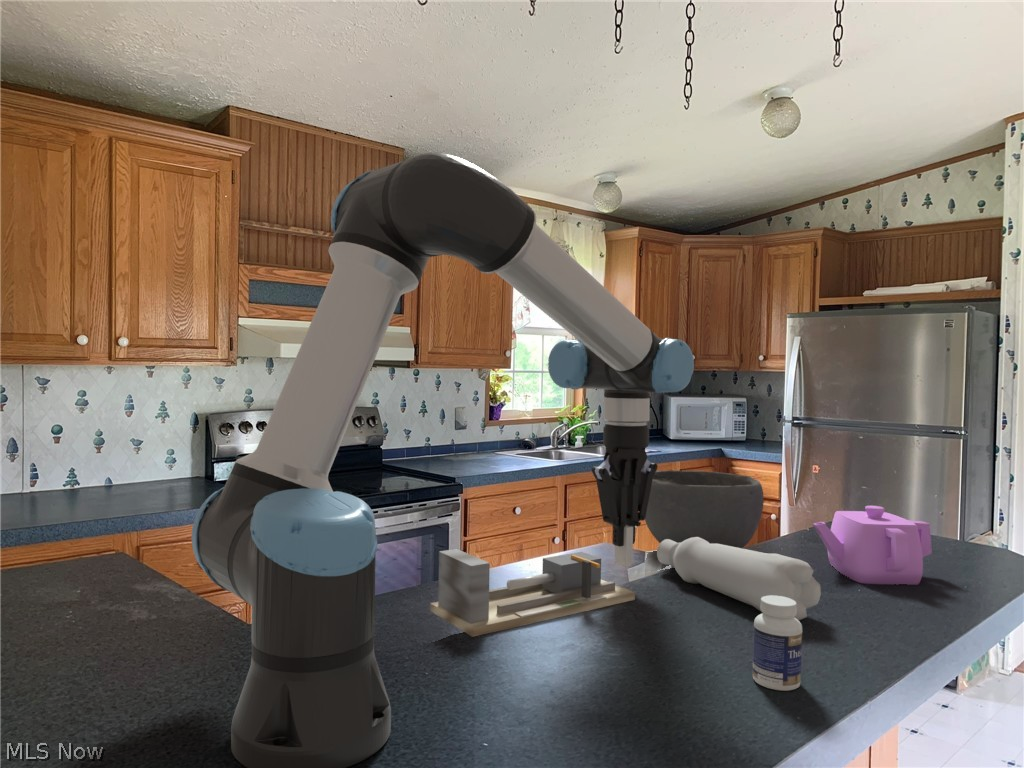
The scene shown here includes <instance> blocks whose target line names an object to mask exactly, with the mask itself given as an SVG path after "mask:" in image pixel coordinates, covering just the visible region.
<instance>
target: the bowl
mask: <svg viewBox="0 0 1024 768" xmlns="http://www.w3.org/2000/svg"><path fill="white" fill-rule="evenodd" d="M763 490H764V489H763V486H762V484H761V483H760V481H759V480H758V479H755V478H753V477H751V476H750V475H744V474H743V475H742V474H735V473H727V472H717V471H707V470H661V469H660V470H656V472H655V474H654V476H653V480H652V485H651V491H650V496H649V501H648V506H647V512H646V517H645V519H644V520H645V523H646V527H647V528H648V530H649V531H650V533H651V535H652V536H653V537H654V539H655V540H656V541H657V542H658V543H659V544H660V543H661V542H662V541H663V540H665V539H670V540H672V541H675V542H677V543H680V542H683V541H684V540H687V539H689V538H692V537H699V538H702V539H704V540H706V541H708V542H709V543H710V544H722V545H727V546H732V547H737V548H742V549H744V547H746V545H748V544H749V542H750V541H752V539H753V537H754V536H755V533H756V531H757V530H758V527H759V526H760V525H759V524H760V521H761V518H762V514H763V510H764V503H765V502H764V491H763Z"/></svg>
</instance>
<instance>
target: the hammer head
mask: <svg viewBox="0 0 1024 768" xmlns="http://www.w3.org/2000/svg"><path fill="white" fill-rule="evenodd" d="M582 597H584V598H591V562H590V561H587V560H585V561H582Z"/></svg>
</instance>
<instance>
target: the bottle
mask: <svg viewBox="0 0 1024 768" xmlns="http://www.w3.org/2000/svg"><path fill="white" fill-rule="evenodd" d="M657 546H658V547H657V550H656V557H657V559H658V562H660V563H661V564H662V565H666V566H671V567H673V568H675V569H674V570H675V571H676V573H677V574H678V575H679V576H680V577H681V579H682V580H683V582H686V583H690V584H695V585H696V584H701V585H702V586H704V588H705V587H706V588H708V589H710V590H712V591H715V592H718V593H720V594H722V595H725V596H728V597H730V598H732V599H735V600H737V601H739V602H742V603H744V604H746V605H749V606H751V607H754V608H755V609H756V610H758V611H759V612H762V611H761V609H760V605H761V598H762V597H764V596H769V595H775V596H783V597H787V598H790V599H792V600H794V601H795V602H796V603H797V613H796V616H794V618H796V619H797V620H798V621H801V620H803V619H805V618H807V617H808V615H807V609H809V608H812V607H814V606H817V605H818V604H819V601H820V598H821V596H822V591H821V590H822V589H821V584H820V583H819V582H818V581H817V580H816V579H815V577H813V573H814V571H815V570H814V569H813V568H812V566H810V564H809V563H808V562H806V561H805V560H802V559H799V558H793V557H790V556H786V555H782V554H779V553H766V552H761V551H757V550H752V549H746V548H737V547H732V546H727V545H722V544H710V543H709V542H708V541H706V540H704V539H702V538H699V537H692V538H689V539H687V540H684V541H683V542H680V543H677V542H675V541H672V540H670V539H665V540H663V541H662V542H661V543H659V545H657Z"/></svg>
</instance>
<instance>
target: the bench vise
mask: <svg viewBox="0 0 1024 768" xmlns="http://www.w3.org/2000/svg"><path fill="white" fill-rule="evenodd" d="M490 564H491V563H490V562H488V561H487V560H484V559H481V558H479V557H477V556H474V555H472V554H470V553H468V552H465V551H463V550H461V549H459V548H453V549H446V550H440V551H439V552H438V592H437V593H438V594H437V596H438V599H437V600H438V601H436V602H435V601H434V602H430V603H429V604H430V613H432V614H435V615H436V616H437V617H439V618H440V619H442V620H444V621H445V622H447V623H448V624H451V625H452V626H453V627H455V628H457V629H459V630H461V631H462V632H463V633H466V634H467V635H468V636H470V637H472V638H473V637H478V636H481V635H482V636H483V635H486V634H492V633H495V632H500V631H505V630H508V629H514V628H516V627H521V626H526V625H531V624H534V623H541V622H543V621H547V620H552V619H556V618H561V617H565V616H569V615H575V614H578V613H584V612H587V611H591V610H592V611H593V610H596V609H601V608H605V607H609V606H613V605H618V604H622V603H627V602H630V601H635V600H636V598H635V597H636V592H635V591H633V590H630V589H627V588H625V587H622V586H619V585H617V584H616V582H614V581H606V580H604V579H601V584H597V585H592V586H591V598H584V597H582V588H578V589H573V590H568V591H563V592H558V593H552V592H549V591H547V590H545V589H542V584H538V585H533V586H528V587H523V588H518V589H512V590H509V589H508V588H507V586H505V587H499V588H492V589H490V571H491V570H490V567H491V566H490Z"/></svg>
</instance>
